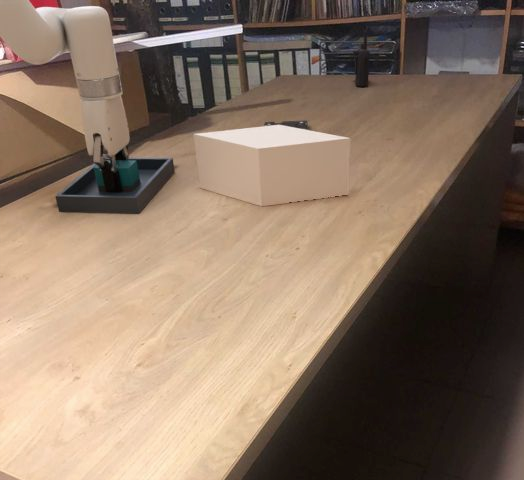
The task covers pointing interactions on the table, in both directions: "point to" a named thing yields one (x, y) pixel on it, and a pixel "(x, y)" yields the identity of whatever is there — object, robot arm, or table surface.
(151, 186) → the tray
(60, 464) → the table surface
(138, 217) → the table surface
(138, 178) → the eraser
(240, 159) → the white rectangular box
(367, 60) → the two-way radio
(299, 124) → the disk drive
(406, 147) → the table surface
